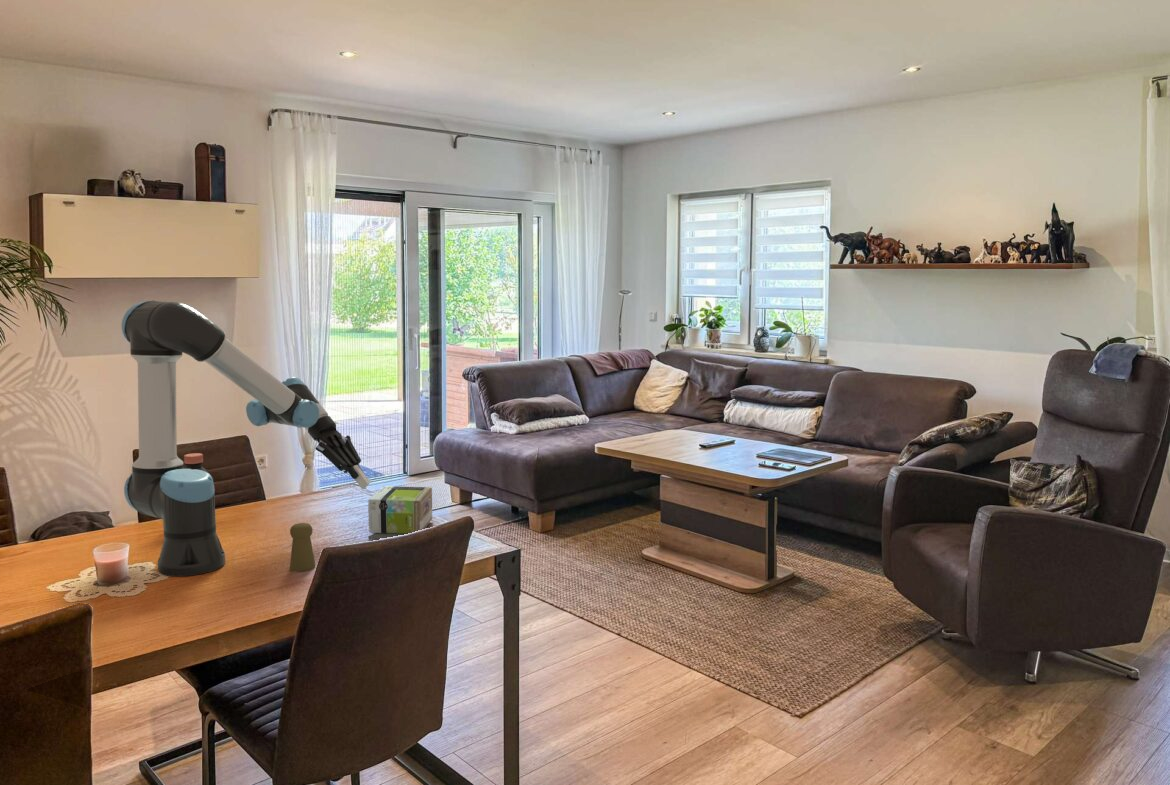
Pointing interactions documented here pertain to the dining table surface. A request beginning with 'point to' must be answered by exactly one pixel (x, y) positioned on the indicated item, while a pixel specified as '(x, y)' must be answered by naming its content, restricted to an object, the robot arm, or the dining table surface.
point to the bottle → (194, 461)
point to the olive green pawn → (301, 548)
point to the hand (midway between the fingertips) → (366, 485)
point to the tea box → (400, 509)
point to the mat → (384, 535)
